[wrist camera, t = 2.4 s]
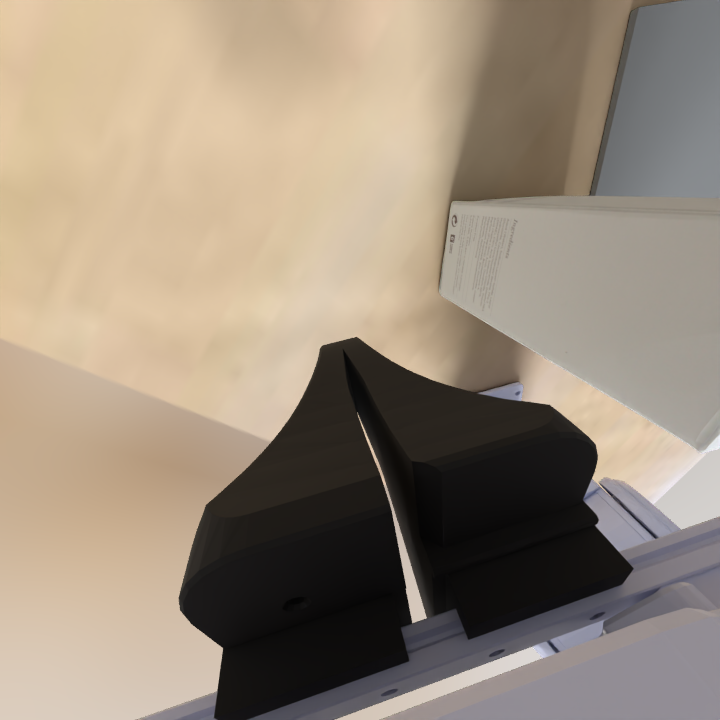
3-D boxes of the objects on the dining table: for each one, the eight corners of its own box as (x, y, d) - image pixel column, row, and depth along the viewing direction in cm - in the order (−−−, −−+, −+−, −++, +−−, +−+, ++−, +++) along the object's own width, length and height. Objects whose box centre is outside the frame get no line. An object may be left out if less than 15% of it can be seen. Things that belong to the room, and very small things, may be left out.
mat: (732, 303, 27) (738, 305, 27) (554, 351, 25) (558, 354, 25) (917, -34, 16) (930, -38, 16) (630, 11, 15) (639, 7, 14)
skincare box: (436, 294, 20) (676, 470, 8) (448, 193, 17) (881, 216, 5) (542, 285, 22) (888, 423, 9) (572, 191, 19) (1151, 205, 6)
